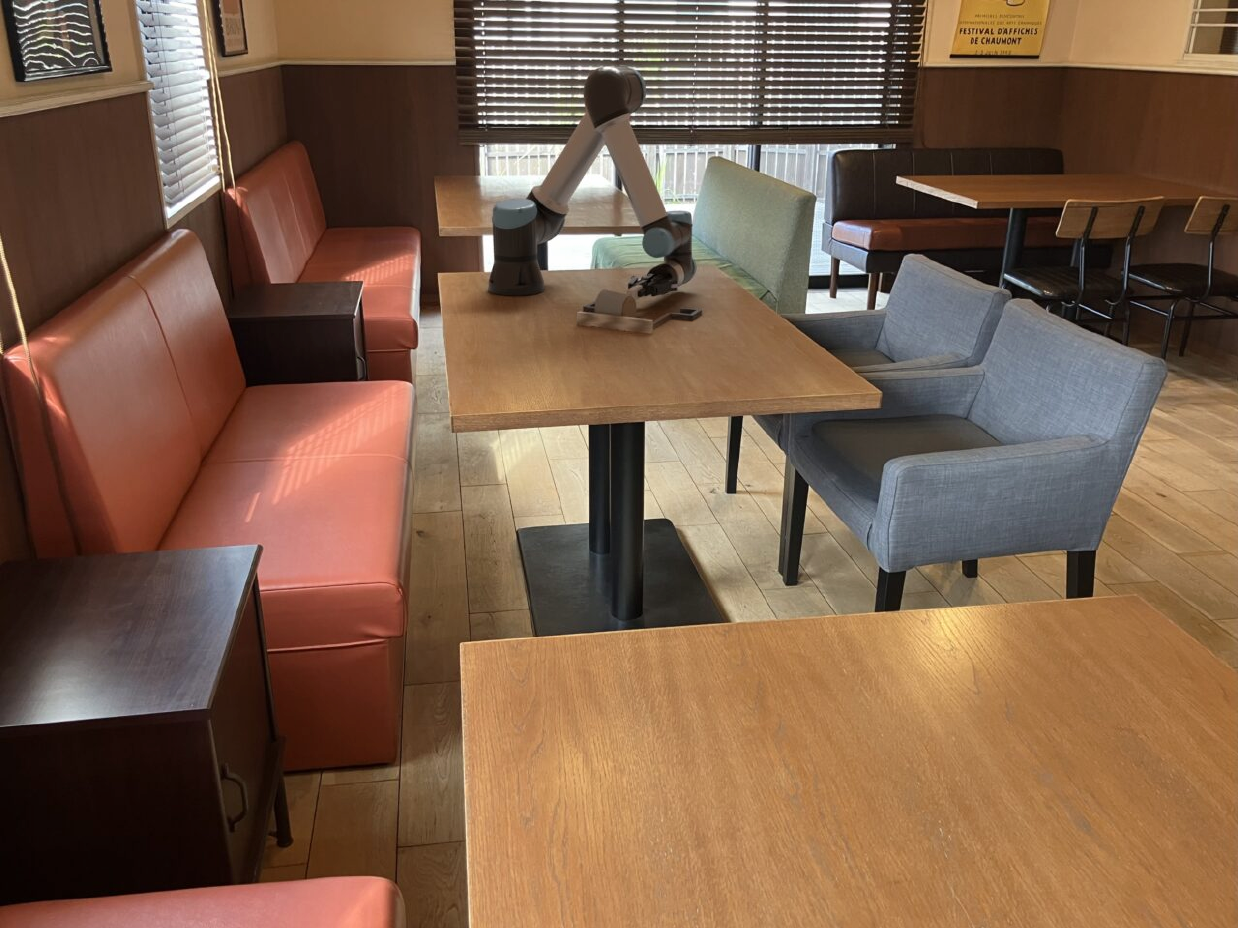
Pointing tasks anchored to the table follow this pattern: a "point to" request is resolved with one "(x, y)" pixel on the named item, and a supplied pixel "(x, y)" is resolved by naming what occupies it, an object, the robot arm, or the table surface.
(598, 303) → the ceramic mug
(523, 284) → the robot arm
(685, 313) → the frame with square trays
